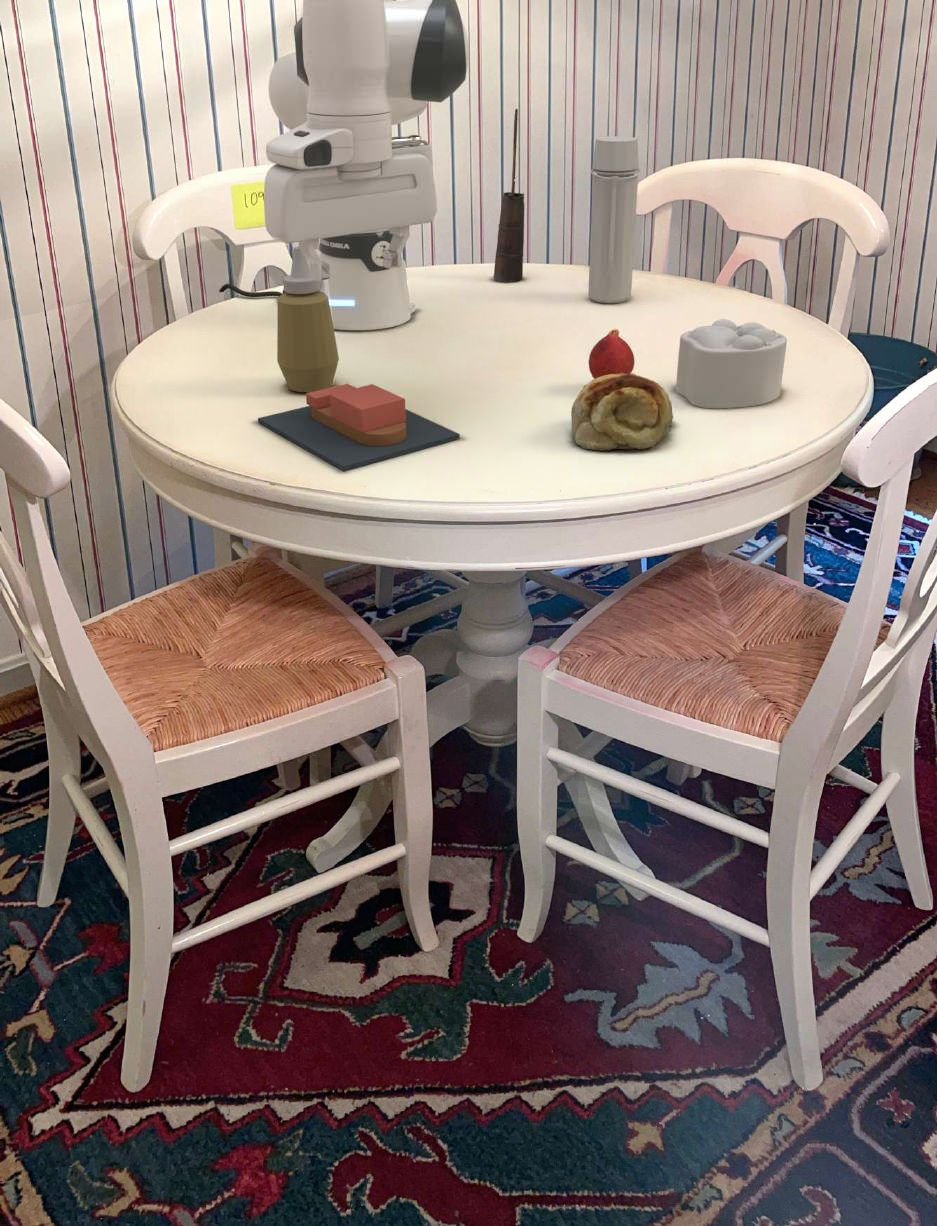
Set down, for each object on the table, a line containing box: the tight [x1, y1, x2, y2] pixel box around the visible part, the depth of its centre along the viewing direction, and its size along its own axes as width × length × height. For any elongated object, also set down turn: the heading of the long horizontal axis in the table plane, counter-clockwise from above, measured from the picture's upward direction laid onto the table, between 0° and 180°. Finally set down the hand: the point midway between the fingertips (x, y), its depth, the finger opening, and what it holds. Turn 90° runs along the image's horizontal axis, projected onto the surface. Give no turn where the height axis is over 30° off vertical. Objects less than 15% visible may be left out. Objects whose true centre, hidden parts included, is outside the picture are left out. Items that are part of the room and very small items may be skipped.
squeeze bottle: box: [276, 246, 340, 393], centre depth 144 cm, size 8×8×18 cm
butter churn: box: [493, 108, 525, 283], centre depth 192 cm, size 9×10×28 cm
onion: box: [588, 328, 636, 380], centre depth 144 cm, size 6×6×8 cm
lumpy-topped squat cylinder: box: [675, 318, 788, 409], centre depth 141 cm, size 10×13×9 cm
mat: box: [257, 405, 461, 472], centre depth 133 cm, size 20×16×1 cm
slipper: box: [305, 383, 407, 446], centre depth 132 cm, size 16×6×4 cm, turn 37°
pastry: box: [570, 372, 674, 451], centre depth 129 cm, size 14×12×8 cm
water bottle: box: [587, 135, 642, 305], centre depth 180 cm, size 9×8×25 cm
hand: (357, 273), depth 125 cm, fingers open, 8 cm apart
